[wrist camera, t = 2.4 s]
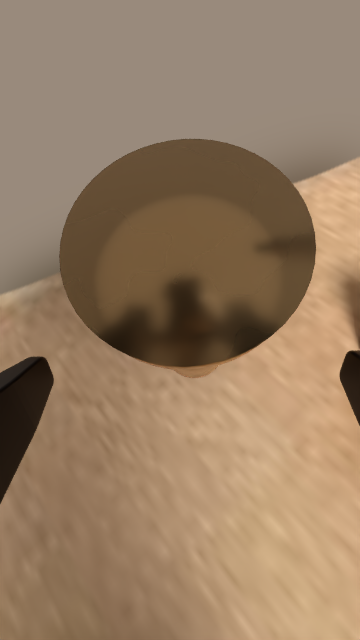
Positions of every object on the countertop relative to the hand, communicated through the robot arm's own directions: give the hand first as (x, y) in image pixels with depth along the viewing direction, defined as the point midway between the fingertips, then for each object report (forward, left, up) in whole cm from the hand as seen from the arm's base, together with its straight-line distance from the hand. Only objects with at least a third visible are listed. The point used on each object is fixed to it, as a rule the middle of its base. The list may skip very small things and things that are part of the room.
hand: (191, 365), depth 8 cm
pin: (+2, +1, -9) cm, 10 cm away
